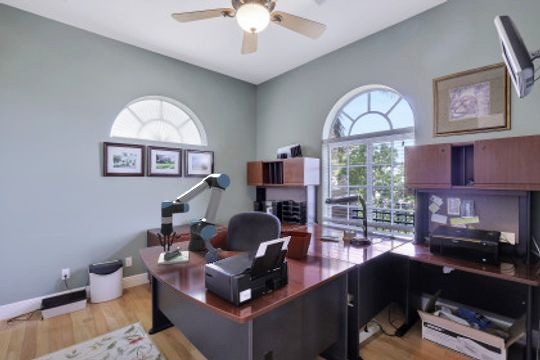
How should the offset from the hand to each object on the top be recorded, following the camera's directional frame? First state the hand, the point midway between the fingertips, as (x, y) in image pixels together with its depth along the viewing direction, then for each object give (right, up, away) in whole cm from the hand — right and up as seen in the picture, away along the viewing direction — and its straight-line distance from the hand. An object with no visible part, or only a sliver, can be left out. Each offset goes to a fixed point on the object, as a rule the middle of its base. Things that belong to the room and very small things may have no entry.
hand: (166, 255), depth 180 cm
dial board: (+3, -3, +5) cm, 7 cm away
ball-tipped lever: (+3, -2, +4) cm, 5 cm away
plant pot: (+93, -4, +13) cm, 94 cm away
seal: (+35, -4, -5) cm, 35 cm away
